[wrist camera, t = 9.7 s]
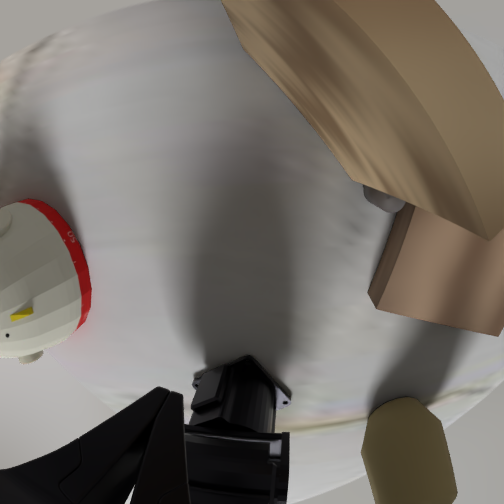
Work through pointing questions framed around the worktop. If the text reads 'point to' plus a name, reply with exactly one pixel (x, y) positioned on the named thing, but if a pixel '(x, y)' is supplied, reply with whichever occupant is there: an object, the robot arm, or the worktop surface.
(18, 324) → the kitchen timer
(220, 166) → the worktop surface
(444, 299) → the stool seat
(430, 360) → the worktop surface
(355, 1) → the light wooden board
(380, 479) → the squeeze bottle
